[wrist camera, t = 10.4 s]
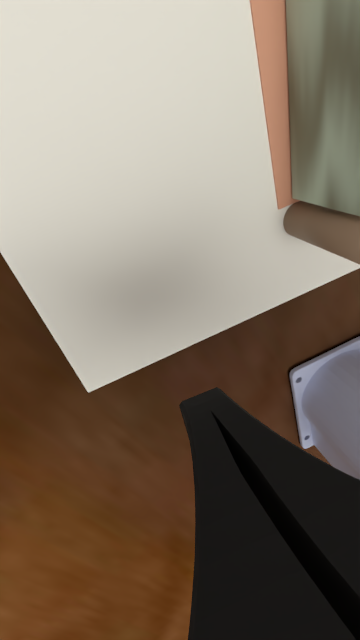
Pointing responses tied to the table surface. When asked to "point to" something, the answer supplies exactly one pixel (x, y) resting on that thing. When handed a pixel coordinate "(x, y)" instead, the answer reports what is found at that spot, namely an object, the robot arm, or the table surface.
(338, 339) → the table surface
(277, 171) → the card
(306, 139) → the fence panel
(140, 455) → the table surface
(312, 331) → the table surface
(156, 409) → the table surface
